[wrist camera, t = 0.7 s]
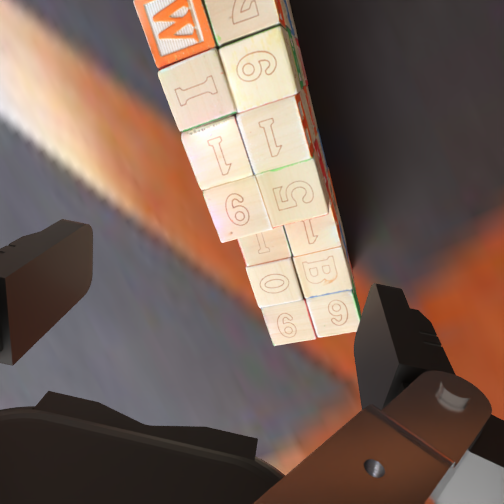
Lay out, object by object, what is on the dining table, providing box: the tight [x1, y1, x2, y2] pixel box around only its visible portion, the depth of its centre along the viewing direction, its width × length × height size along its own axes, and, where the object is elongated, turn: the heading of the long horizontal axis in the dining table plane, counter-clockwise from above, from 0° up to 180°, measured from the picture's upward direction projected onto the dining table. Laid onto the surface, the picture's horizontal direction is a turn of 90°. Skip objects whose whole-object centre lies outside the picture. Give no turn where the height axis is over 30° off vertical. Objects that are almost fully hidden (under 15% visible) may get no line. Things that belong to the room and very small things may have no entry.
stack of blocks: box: [133, 0, 361, 346], centre depth 27 cm, size 21×6×12 cm, turn 17°
